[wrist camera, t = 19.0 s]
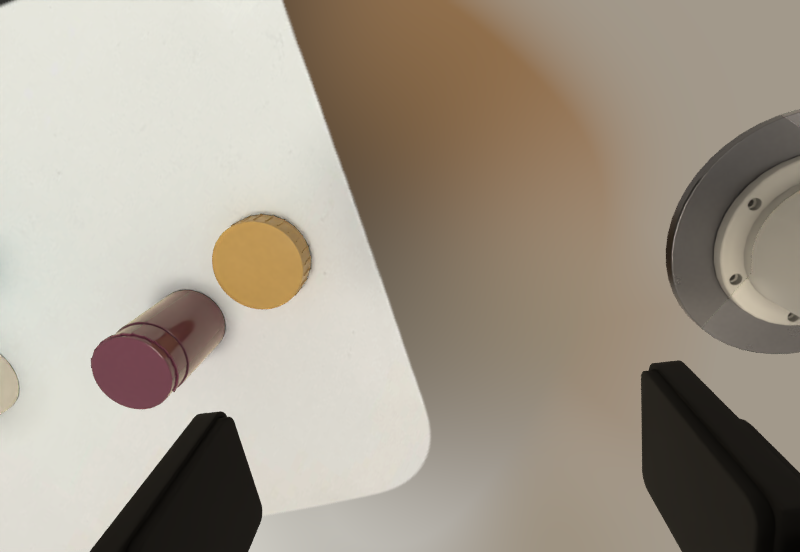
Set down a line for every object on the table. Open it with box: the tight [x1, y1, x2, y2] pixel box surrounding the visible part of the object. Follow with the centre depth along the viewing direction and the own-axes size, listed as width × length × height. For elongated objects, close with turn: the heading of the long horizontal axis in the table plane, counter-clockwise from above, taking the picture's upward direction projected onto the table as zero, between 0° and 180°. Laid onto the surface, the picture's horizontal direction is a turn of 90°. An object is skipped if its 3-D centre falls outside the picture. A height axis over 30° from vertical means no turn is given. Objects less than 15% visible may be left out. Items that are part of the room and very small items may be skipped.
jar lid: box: [212, 214, 311, 309], centre depth 34 cm, size 7×7×2 cm
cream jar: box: [91, 290, 225, 409], centre depth 34 cm, size 5×5×8 cm
